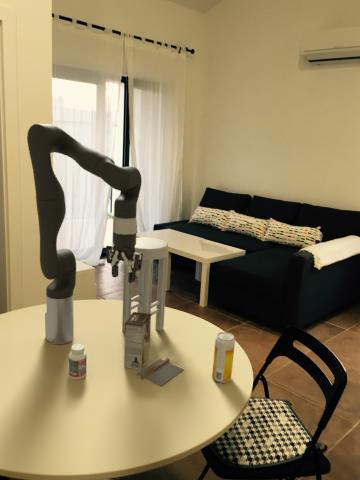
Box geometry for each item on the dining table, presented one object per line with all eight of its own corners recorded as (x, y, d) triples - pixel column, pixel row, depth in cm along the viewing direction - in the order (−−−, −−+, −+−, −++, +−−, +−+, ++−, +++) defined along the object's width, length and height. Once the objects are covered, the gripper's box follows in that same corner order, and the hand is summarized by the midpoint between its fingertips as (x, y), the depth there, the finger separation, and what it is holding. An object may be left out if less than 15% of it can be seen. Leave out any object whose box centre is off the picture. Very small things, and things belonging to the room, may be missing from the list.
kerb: (140, 378, 141) (140, 375, 141) (167, 360, 152) (167, 357, 152) (143, 380, 141) (143, 376, 140) (169, 361, 152) (169, 358, 151)
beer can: (232, 375, 146) (237, 333, 142) (228, 385, 141) (232, 342, 136) (214, 371, 148) (218, 329, 144) (209, 380, 142) (213, 338, 138)
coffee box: (131, 353, 156) (133, 310, 151) (149, 356, 155) (151, 313, 150) (123, 367, 147) (124, 322, 143) (142, 370, 146) (144, 325, 142)
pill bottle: (80, 381, 138) (80, 352, 135) (65, 377, 140) (65, 349, 137) (89, 372, 143) (89, 344, 140) (74, 368, 145) (74, 341, 142)
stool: (170, 328, 175) (175, 242, 166) (147, 343, 163) (151, 251, 153) (139, 317, 183) (142, 234, 174) (114, 331, 171) (116, 242, 161)
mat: (136, 374, 143) (136, 373, 143) (159, 359, 153) (159, 358, 153) (161, 386, 138) (161, 385, 138) (183, 370, 148) (183, 369, 147)
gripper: (99, 227, 143) (99, 276, 148) (134, 237, 136) (132, 288, 140) (116, 224, 149) (114, 271, 154) (149, 232, 142) (147, 282, 146)
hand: (123, 279), depth 147 cm, fingers open, 6 cm apart
